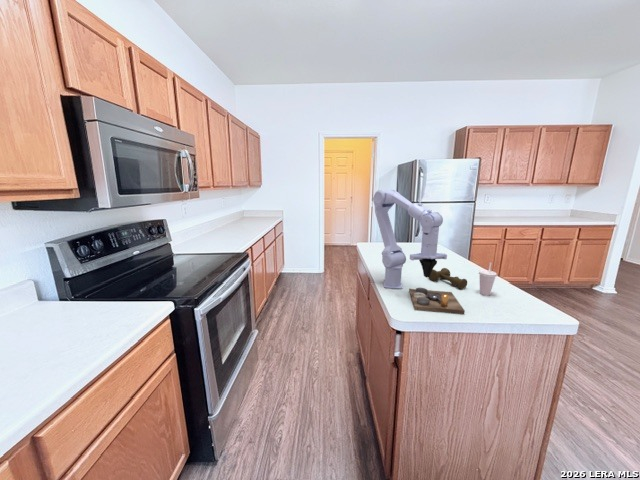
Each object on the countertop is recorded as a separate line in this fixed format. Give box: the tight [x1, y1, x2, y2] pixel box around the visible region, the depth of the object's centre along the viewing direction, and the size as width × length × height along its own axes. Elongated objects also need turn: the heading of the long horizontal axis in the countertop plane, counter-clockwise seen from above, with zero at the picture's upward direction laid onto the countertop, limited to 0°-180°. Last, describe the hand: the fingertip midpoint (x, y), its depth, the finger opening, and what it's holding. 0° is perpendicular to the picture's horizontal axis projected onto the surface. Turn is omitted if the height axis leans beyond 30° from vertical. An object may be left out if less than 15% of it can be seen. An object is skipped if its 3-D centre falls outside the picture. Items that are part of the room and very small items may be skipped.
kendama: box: [427, 267, 468, 290], centre depth 124 cm, size 6×10×20 cm
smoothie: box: [478, 262, 498, 297], centre depth 110 cm, size 6×6×14 cm
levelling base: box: [408, 287, 466, 315], centre depth 103 cm, size 17×17×3 cm
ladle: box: [428, 293, 449, 307], centre depth 100 cm, size 10×5×4 cm, turn 7°
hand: (426, 276), depth 105 cm, fingers closed
